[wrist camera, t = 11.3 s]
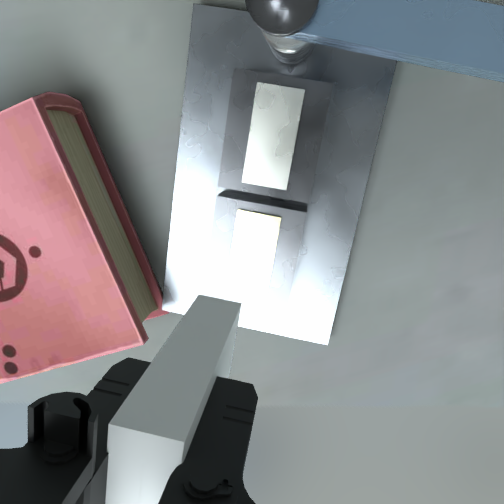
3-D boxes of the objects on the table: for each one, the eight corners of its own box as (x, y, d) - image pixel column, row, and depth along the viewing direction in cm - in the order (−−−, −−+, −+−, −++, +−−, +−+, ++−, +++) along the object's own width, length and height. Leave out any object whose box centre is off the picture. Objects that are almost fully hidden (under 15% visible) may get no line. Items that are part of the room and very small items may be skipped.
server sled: (198, 4, 23) (158, -41, 17) (400, 34, 22) (433, -3, 16) (166, 303, 28) (127, 350, 22) (327, 337, 27) (331, 395, 21)
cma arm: (246, 38, 17) (238, 25, 15) (260, -36, 16) (253, -60, 14) (667, 124, 16) (719, 123, 14) (704, 50, 15) (765, 37, 13)
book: (78, 89, 25) (23, 79, 21) (171, 309, 29) (144, 344, 24) (-97, 167, 29) (-178, 174, 24) (6, 356, 32) (-48, 396, 27)
